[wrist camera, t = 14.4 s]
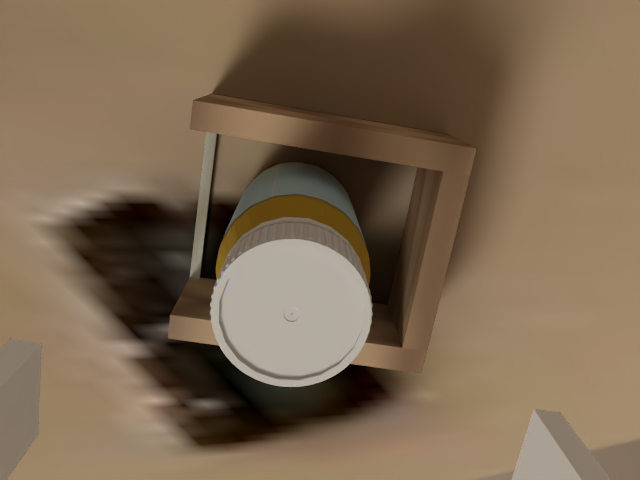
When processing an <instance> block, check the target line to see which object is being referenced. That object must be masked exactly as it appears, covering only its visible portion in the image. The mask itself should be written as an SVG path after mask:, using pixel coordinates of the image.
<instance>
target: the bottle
mask: <svg viewBox="0 0 640 480" xmlns="http://www.w3.org/2000/svg"><path fill="white" fill-rule="evenodd" d="M216 277H217V280H216V283H215V286H214V288H213V293H212V296H211V298H212V300H211V303H210V306H211V310H210V315H211V323H212V329H213V332H214V335H215V338H216V340H217V342H218V344H219V346H220V348H221V350H222V351H223V353H224V354H225V355H226V357H227V358H228V359H229V360H230V361H231V362H232V363H233V364H234V365H235V366H236V367H237V368H238V369H240V370H241V371H242V372H244V373H245V374H247V375H248V376H250V377H252V378H254V379H256V380H259V381H261V382H264V383H267V384H271V385H276V386H283V387H299V386H307V385H312V384H315V383H319V382H321V381H324V380H326V379H329V378H331V377H332V376H334V375H336V374H337V373H339V372H340V371H342V370H343V369H344V368H346V367H347V366H348V365H349V364H350V363H351V362H352V361H353V360H354V359H355V357H356V356H357V355H358V354H359V352H360V351H361V349H362V347H363V345H364V343H365V341H366V339H367V336H368V334H369V332H370V325H371V324H372V319H371V317H372V315H373V312H372V307H373V304H372V301H371V299H372V297H371V293H370V289H369V282H370V261H369V254H368V250H367V246H366V243H365V240H364V237H363V235H362V232H361V229H360V226H359V223H358V220H357V217H356V214H355V211H354V208H353V206H352V203H351V201H350V198H349V196H348V194H347V192H346V190H345V188H344V187H343V185H342V184H341V183H340V182H339V181H338V180H337V178H336V177H335V176H334V175H332V174H331V173H330V172H328V171H326V170H324V169H323V168H321V167H319V166H317V165H314V164H309V163H305V162H298V161H296V162H285V163H280V164H277V165H275V166H272V167H270V168H268V169H266V170H264V171H263V172H261V173H260V174H259V175H258V176H257V177H256V178H255V179H253V180H252V181H251V183H250V184H249V185H248V187H247V188H246V190H245V192H244V194H243V195H242V197H241V199H240V201H239V204H238V206H237V208H236V210H235V212H234V215H233V217H232V219H231V221H230V223H229V226H228V228H227V230H226V232H225V235H224V237H223V239H222V242H221V244H220V248H219V252H218V257H217V263H216Z"/></svg>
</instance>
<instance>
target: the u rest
mask: <svg viewBox="0 0 640 480" xmlns="http://www.w3.org/2000/svg"><path fill="white" fill-rule="evenodd" d="M190 129H191V130H197V131H203V132H206V139H205V148H204V157H203V166H202V175H201V183H200V192H199V201H198V210H197V219H196V227H195V236H194V245H193V254H192V263H191V271H190V278H189V280H188V282H187V284H186V286H185V288H184V290H183V292H182V293H181V295H180V297H179V299H178V301H177V303H176V305H175V307H174V309H173V311H172V313H171V315H170V323H169V332H168V338H170V339H177V340H184V341H191V342H199V343H206V344H213V345H219V344H218V342H217V340H216V338H215V335H214V332H213V329H212V323H211V315H210V310H211V306H210V303H211V300H212V298H211V296H212V293H213V288H214V286H215V283H216V280H215V279H208V278H201V277H200V274H201V266H202V257H203V249H204V240H205V232H206V224H207V215H208V207H209V198H210V190H211V182H212V173H213V165H214V156H215V148H216V140H217V134H221V135H227V136H233V137H239V138H245V139H252V140H258V141H264V142H270V143H276V144H282V145H288V146H294V147H300V148H306V149H312V150H318V151H324V152H330V153H336V154H342V155H348V156H354V157H360V158H366V159H372V160H378V161H384V162H390V163H396V164H402V165H408V166H414V167H418V168H417V173H416V177H415V182H414V186H413V191H412V196H411V200H410V205H409V209H408V214H407V218H406V223H405V228H404V232H403V237H402V241H401V246H400V250H399V255H398V260H397V264H396V269H395V273H394V278H393V282H392V287H391V292H390V296H389V301H388V305H384V304H377V303H372V304H373V307H372V312H373V315H372V317H371V319H372V324H371V325H370V332H369V334H368V336H367V339H366V341H365V343H364V345H363V347H362V349H361V351H360V352H359V354H358V355H357V356H356V357H355V359H354V360H353V361H352V362H351V363H350V364H356V365H364V366H371V367H378V368H385V369H392V370H400V371H407V372H414V373H421V374H422V370H423V366H424V362H425V358H426V354H427V350H428V345H429V341H430V337H431V333H432V329H433V325H434V321H435V317H436V313H437V309H438V305H439V301H440V297H441V292H442V288H443V284H444V280H445V276H446V272H447V268H448V264H449V260H450V256H451V252H452V248H453V244H454V239H455V235H456V231H457V227H458V223H459V219H460V215H461V211H462V207H463V203H464V199H465V195H466V191H467V187H468V182H469V178H470V174H471V170H472V166H473V162H474V158H475V154H476V150H477V148H475V147H473V146H471V145H469V144H467V143H465V142H463V141H461V140H459V139H457V138H455V137H453V136H451V135H449V134H443V133H437V132H432V131H426V130H420V129H414V128H408V127H402V126H397V125H391V124H385V123H379V122H373V121H367V120H362V119H356V118H350V117H344V116H338V115H332V114H326V113H321V112H315V111H309V110H303V109H297V108H291V107H286V106H280V105H274V104H268V103H262V102H256V101H251V100H245V99H239V98H233V97H227V96H221V95H216V94H209V95H207V96H204V97H201V98H198V99H195V100H193V106H192V115H191V125H190Z"/></svg>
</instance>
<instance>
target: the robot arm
mask: <svg viewBox="0 0 640 480" xmlns="http://www.w3.org/2000/svg"><path fill="white" fill-rule="evenodd" d="M41 347H42V343H40V342H32V341H25V340H17V339H10V340H9V341H8V342H7V343H6V344H5V345H4V346H3V347H2V348H1V349H0V480H7V478H8V477H9V476H10V474H11V473H12V471H13V470H14V468H15V467H16V466H17V464H18V463H19V461H20V460H21V458H22V457H23V456H24V454H25V453H26V451H27V450H28V449H29V447H30V446H31V444H32V443H33V441H34V440H35V439H36V437H37V436H38V424H39V398H40V373H41ZM512 480H610V479H609V477H608V476H607V474H606V473H605V472H604V470H603V469H602V468H601V466H600V465H599V464H598V462H597V461H596V460H595V458H594V457H593V456H592V454H591V453H590V452H589V450H588V449H587V447H586V446H585V445H584V443H583V442H582V441H581V439H580V438H579V437H578V435H577V434H576V433H575V431H574V430H573V429H572V427H571V426H570V425H569V423H568V422H567V421H566V419H565V418H564V416H563V415H562V414H561V412H553V411H546V410H538V409H534V410H533V413H532V416H531V420H530V423H529V426H528V429H527V432H526V436H525V439H524V442H523V445H522V448H521V452H520V455H519V458H518V461H517V464H516V468H515V471H514V474H513V477H512Z"/></svg>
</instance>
